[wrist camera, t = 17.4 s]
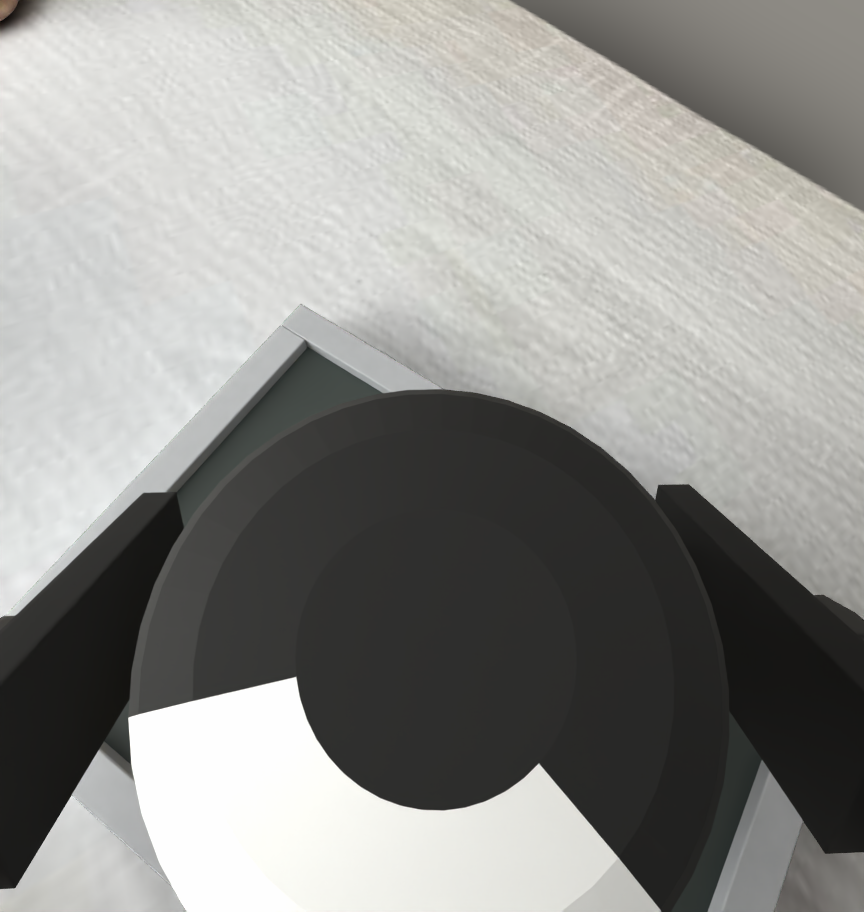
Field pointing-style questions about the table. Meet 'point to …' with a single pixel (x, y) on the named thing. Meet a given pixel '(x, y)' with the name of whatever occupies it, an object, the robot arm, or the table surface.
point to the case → (7, 8)
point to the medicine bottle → (429, 674)
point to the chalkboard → (283, 405)
